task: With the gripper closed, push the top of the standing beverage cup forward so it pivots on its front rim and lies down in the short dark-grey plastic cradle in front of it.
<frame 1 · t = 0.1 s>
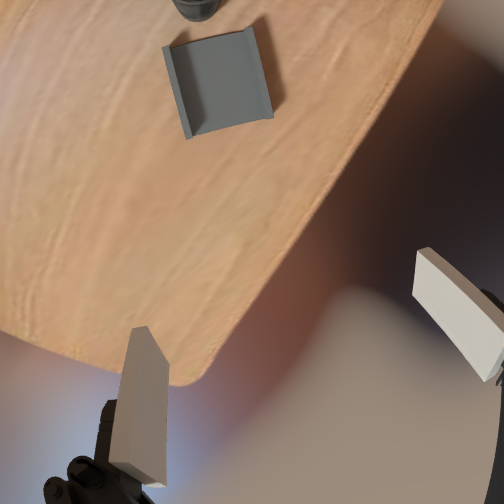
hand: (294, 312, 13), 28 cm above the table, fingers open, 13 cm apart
cradle: (217, 81, 32), on the table
beverage cup: (198, 7, 27), on the table
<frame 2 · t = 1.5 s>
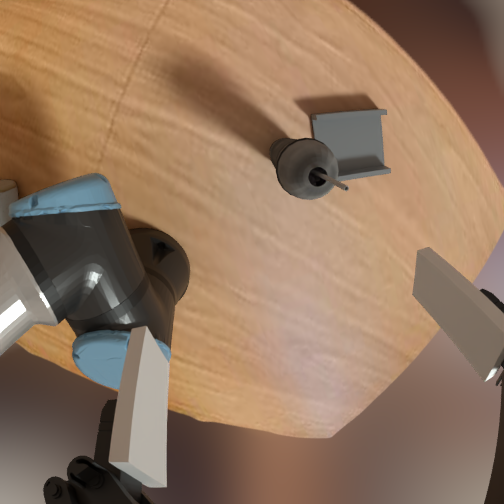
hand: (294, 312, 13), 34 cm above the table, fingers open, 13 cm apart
cradle: (350, 142, 43), on the table
ceramic mug: (6, 199, 39), on the table
beverage cup: (283, 152, 43), on the table
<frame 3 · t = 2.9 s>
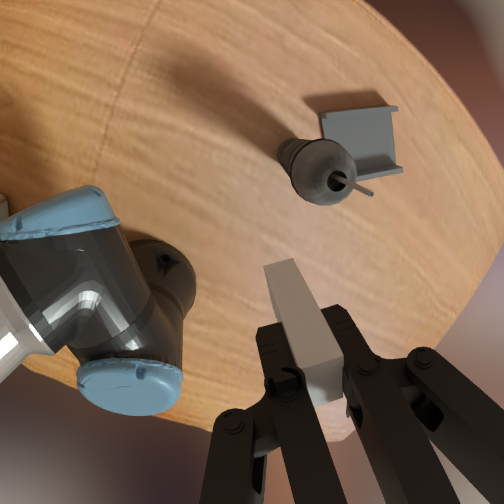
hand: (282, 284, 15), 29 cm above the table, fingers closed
cradle: (360, 141, 41), on the table
beverage cup: (292, 153, 41), on the table
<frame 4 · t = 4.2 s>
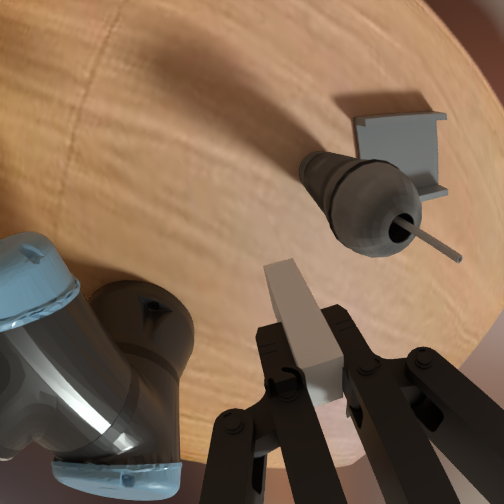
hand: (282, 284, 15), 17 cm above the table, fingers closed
cradle: (401, 156, 31), on the table
beverage cup: (318, 171, 31), on the table
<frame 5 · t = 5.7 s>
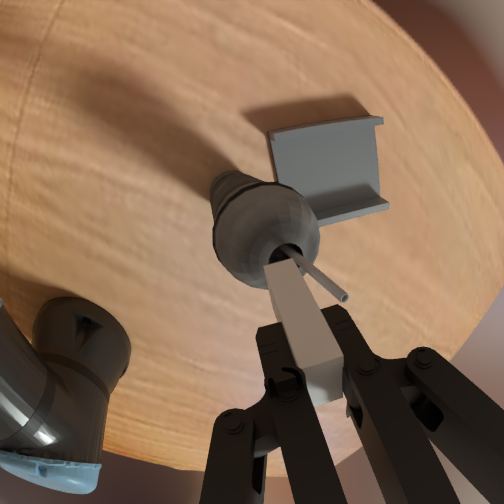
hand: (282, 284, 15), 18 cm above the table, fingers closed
cradle: (330, 168, 31), on the table
beverage cup: (231, 191, 30), on the table, touching gripper
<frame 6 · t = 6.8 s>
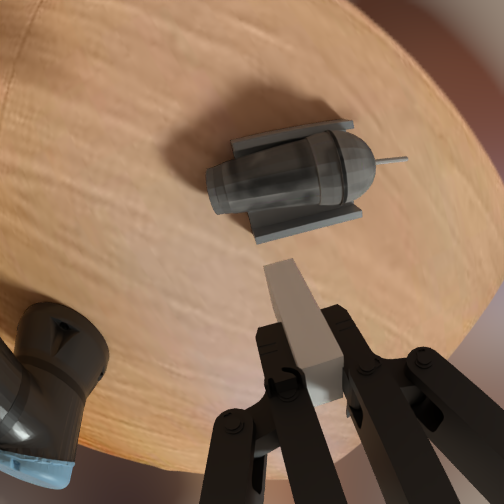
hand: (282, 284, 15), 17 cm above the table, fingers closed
cradle: (297, 176, 31), on the table
beverage cup: (211, 192, 28), point 2 cm above the table, touching cradle
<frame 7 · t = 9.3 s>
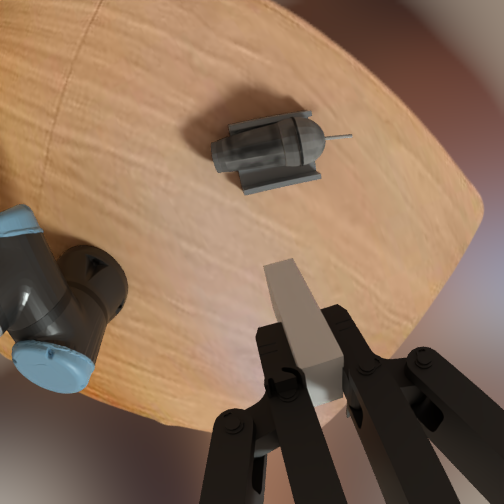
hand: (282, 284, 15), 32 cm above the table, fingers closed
cradle: (274, 149, 43), on the table
beverage cup: (214, 158, 41), point 2 cm above the table, touching cradle
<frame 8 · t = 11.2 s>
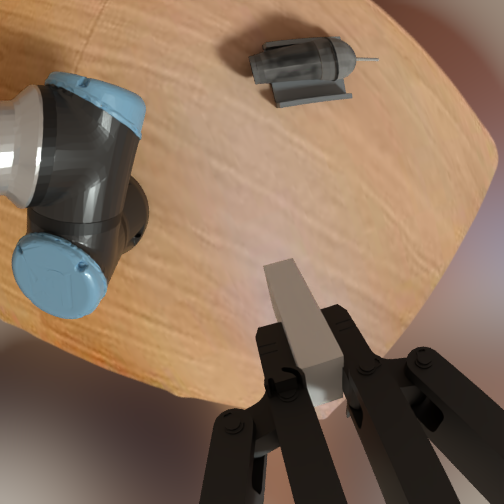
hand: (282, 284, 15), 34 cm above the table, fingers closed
cradle: (306, 71, 40), on the table
beverage cup: (250, 70, 37), point 2 cm above the table, touching cradle
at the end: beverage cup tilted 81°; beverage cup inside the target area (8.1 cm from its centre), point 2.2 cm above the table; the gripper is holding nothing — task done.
